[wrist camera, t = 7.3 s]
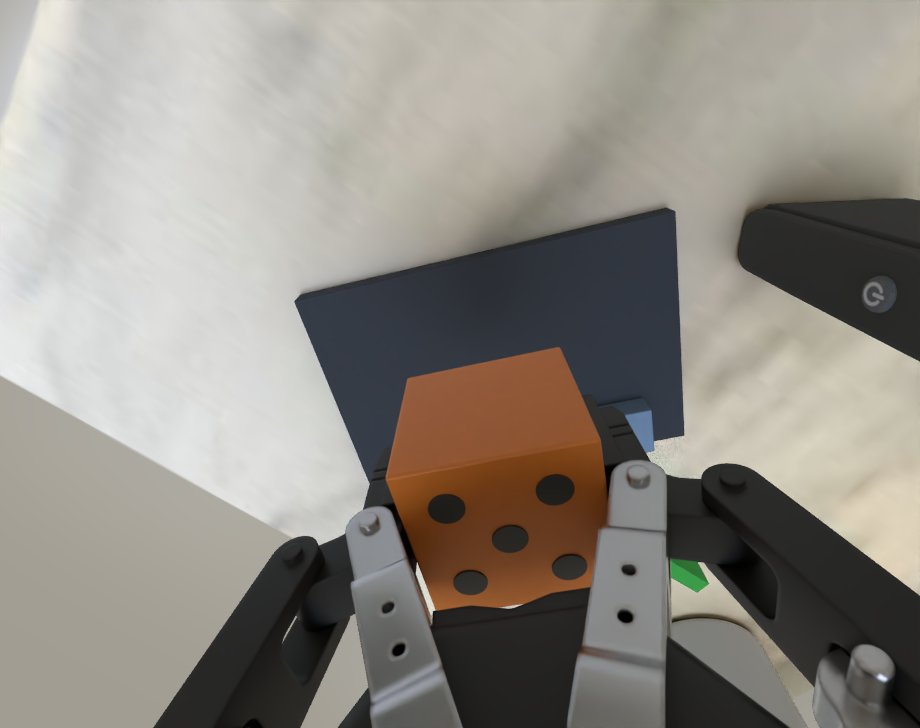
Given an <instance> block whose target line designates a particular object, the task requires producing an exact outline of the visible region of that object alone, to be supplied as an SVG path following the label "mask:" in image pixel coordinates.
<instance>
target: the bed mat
mask: <svg viewBox="0 0 920 728" xmlns="http://www.w3.org/2000/svg"><path fill="white" fill-rule="evenodd" d="M295 304H296V307H297V309H298V312H299V314H300V316H301V319H302V321H303V324H304V326H305V328H306V331H307V333H308V336H309V338H310V341H311V343H312V345H313V348H314V350H315V353H316V355H317V358H318V360H319V362H320V365H321V367H322V370H323V372H324V374H325V377H326V379H327V382H328V384H329V387H330V389H331V391H332V394H333V396H334V399H335V401H336V403H337V406H338V408H339V411H340V413H341V416H342V418H343V420H344V423H345V425H346V428H347V430H348V433H349V435H350V437H351V440H352V442H353V445H354V447H355V449H356V452H357V454H358V457H359V459H360V462H361V464H362V466H363V469H364V471H365V474H366V476H367V478H368V481H369V483H370V482H371V477H372V474H373V473H374V472H373V470H374V466H375V462H376V459H377V458H378V457H379V455H380V454H381V453H382V452H383V450H384V449H387V448H392V447H393V442H394V438H395V433H396V428H397V424H398V419H399V415H400V410H401V406H402V401H403V397H404V392H405V388H406V383H407V379H408V378H411V377H416V376H421V375H426V374H431V373H435V372H440V371H445V370H450V369H455V368H460V367H464V366H469V365H474V364H479V363H484V362H489V361H493V360H498V359H503V358H508V357H513V356H518V355H522V354H527V353H532V352H537V351H542V350H547V349H551V348H556V347H559V348H560V349H561V350H562V353H563V355H564V357H565V359H566V362H567V364H568V366H569V368H570V371H571V373H572V375H573V378H574V380H575V382H576V384H577V387H578V389H579V391H580V393H581V396H584V395H589V394H592V395H593V396H594V398H595V401H596V403H597V405H598V407H599V408H603V407H608V406H613V407H615V408H616V409H618V410H619V411H621V412H622V413H624V415H625V417H626V419H627V420H628V422H629V425H630V426H631V427H632V429H633V431H634V433H635V435H636V436H637V438H638V440H639V442H640V444H641V445H642V447H643V449H644V451H645V452H651V451H654V441H657V440H663V439H668V438H673V437H679V436H684V417H683V392H682V367H681V342H680V317H679V292H678V267H677V242H676V217H675V211H673V210H671V209H668V208H664V209H660V210H656V211H651V212H647V213H643V214H639V215H635V216H630V217H626V218H622V219H618V220H614V221H609V222H605V223H601V224H597V225H592V226H588V227H584V228H580V229H576V230H571V231H567V232H563V233H559V234H555V235H550V236H546V237H542V238H538V239H534V240H529V241H525V242H521V243H517V244H513V245H508V246H504V247H500V248H496V249H492V250H487V251H483V252H479V253H475V254H470V255H466V256H462V257H458V258H454V259H449V260H445V261H441V262H437V263H433V264H428V265H424V266H420V267H416V268H412V269H407V270H403V271H399V272H395V273H391V274H386V275H382V276H378V277H374V278H369V279H365V280H361V281H357V282H353V283H348V284H344V285H340V286H336V287H332V288H327V289H323V290H319V291H315V292H311V293H306V294H302V295H300V296H299V297H298V298H297V299H296V300H295Z"/></svg>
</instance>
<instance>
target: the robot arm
mask: <svg viewBox="0 0 920 728" xmlns="http://www.w3.org/2000/svg"><path fill="white" fill-rule="evenodd" d="M582 398H583V400H584V403H585V405H586V407H587V409H588V412H589V414H590V416H591V418H592V421H593V423H594V425H595V428H596V430H597V432H598V434H599V437H600V439H601V446H602V453H603V461H604V469H605V477H606V485H607V493H608V504H607V511H606V518H605V525H603V524H601V525H600V528H599V533H598V540H597V547H596V553H595V560H594V567H593V574H592V581H591V587H587V588H581V589H574V590H568V591H561V592H555V593H550V594H548V595H545V596H543V597H540V598H538V599H535V600H533V601H530V602H528V603H525V604H523V605H520V606H518V607H515V608H512V609H505V608H494V607H484V606H473V605H470V606H463V607H457V608H450V609H443V610H437V611H433V619H431V616H430V613H429V610H428V607H427V604H426V601H425V598H424V595H423V593H422V590H421V587H420V584H419V581H418V578H417V576H416V565H417V560H416V557H415V555H414V552H413V549H412V547H411V544H410V542H409V539H408V536H407V534H406V531H405V529H404V526H403V523H402V521H401V518H400V516H399V513H398V510H397V508H396V505H395V503H394V500H393V497H392V495H391V492H390V489H389V487H388V484H387V482H386V474H387V469H388V465H389V460H390V456H391V451H392V448H387V449H384V450H383V452H382V453H381V454H380V455H379V457H378V458H377V459H376V462H375V466H374V470H373V472H374V473H373V474H372V477H371V482H370V485H369V489H368V493H367V497H366V501H365V504H364V508H363V510H362V511H360V512H359V513H357V514H356V515H355V516H354V517H353V518H352V519H351V520H350V521H349V523H348V524H347V527H346V531H345V534H344V535H342V536H340V537H338V538H336V539H334V540H331V541H329V542H327V543H324V544H322V545H320V546H319V545H318V543H317V541H316V540H315V539H314V538H313V537H310V536H301V537H297V538H294V539H291V540H289V541H288V542H286V543H284V544H283V545H282V546H281V547H279V548H278V549H277V550H276V551H275V552H274V554H273V555H272V557H271V558H270V559H269V561H268V562H267V564H266V565H265V567H264V568H263V569H262V571H261V572H260V574H259V575H258V577H257V578H256V580H255V581H254V582H253V584H252V585H251V587H250V588H249V590H248V591H247V593H246V594H245V596H244V597H243V598H242V600H241V601H240V603H239V604H238V606H237V607H236V609H235V610H234V611H233V613H232V615H231V616H230V617H229V619H228V620H227V622H226V623H225V625H224V626H223V628H222V629H221V630H220V632H219V633H218V635H217V636H216V638H215V639H214V641H213V642H212V643H211V645H210V646H209V648H208V649H207V651H206V652H205V654H204V655H203V656H202V658H201V659H200V661H199V662H198V664H197V665H196V667H195V668H194V670H193V671H192V672H191V674H190V675H189V677H188V678H187V680H186V681H185V683H184V684H183V686H182V687H181V688H180V690H179V692H178V693H177V694H176V696H175V697H174V699H173V700H172V701H171V703H170V704H169V706H168V707H167V709H166V710H165V712H164V713H163V715H162V716H161V717H160V719H159V720H158V722H157V723H156V725H155V726H154V728H300V727H301V725H302V722H303V720H304V718H305V716H306V714H307V712H308V709H309V707H310V705H311V703H312V701H313V699H314V696H315V694H316V692H317V690H318V688H319V686H320V683H321V681H322V679H323V677H324V675H325V673H326V670H327V668H328V666H329V663H330V662H331V659H332V657H333V655H334V653H335V651H336V648H337V646H338V644H339V642H340V639H341V638H342V635H343V633H344V631H345V629H346V627H347V624H348V622H349V620H350V616H351V615H353V614H356V619H357V625H358V630H359V636H360V642H361V647H362V653H363V658H364V664H365V670H366V675H367V681H368V686H369V687H368V689H367V690H366V691H365V693H364V694H363V695H362V696H361V698H360V699H359V700H358V702H357V703H356V704H355V706H354V707H353V708H352V710H351V711H350V712H349V714H348V715H347V716H346V717H345V719H344V720H343V721H342V723H341V724H340V725H339V727H338V728H790V727H789V726H787V725H786V724H785V723H783V722H782V721H781V720H779V719H778V718H777V717H775V716H774V715H773V714H771V713H770V712H769V711H768V710H766V709H765V708H764V707H762V706H761V705H760V704H758V703H757V702H756V701H754V700H753V699H752V698H750V697H749V696H748V695H746V694H745V693H744V692H742V691H741V690H740V689H738V688H737V687H736V686H734V685H733V684H732V683H730V682H729V681H728V680H726V679H725V678H724V677H722V676H721V675H720V674H719V673H717V672H716V671H715V670H713V669H712V668H711V667H709V666H708V665H707V664H705V663H704V662H703V661H701V660H700V659H699V658H697V657H696V656H695V655H693V654H692V653H691V652H689V651H688V650H687V649H685V648H684V647H683V646H681V645H680V644H679V643H677V642H676V641H675V640H673V639H672V612H671V559H678V560H687V561H695V562H704V563H705V565H706V566H707V567H708V569H709V570H710V571H711V572H712V573H713V574H714V575H715V577H716V578H717V579H718V580H719V581H720V582H721V583H722V584H723V586H724V587H725V588H726V589H727V590H728V591H729V592H730V593H731V594H732V596H733V597H734V598H735V599H736V600H737V601H738V602H739V603H740V605H741V606H742V607H743V608H744V609H745V610H746V611H747V612H748V614H749V615H750V616H751V617H752V618H753V619H754V620H755V621H756V622H757V624H758V625H759V626H760V627H761V628H762V629H763V630H764V631H765V633H766V634H767V635H768V636H769V637H770V638H771V639H772V640H773V641H774V643H775V644H776V645H777V646H778V647H779V648H780V649H781V650H782V652H783V653H784V654H785V655H786V656H787V657H788V658H789V659H790V661H791V662H792V663H793V664H794V665H795V666H796V667H797V668H798V669H799V671H800V672H801V673H802V674H803V675H804V676H805V677H806V678H807V680H808V681H809V682H810V683H811V684H812V685H813V686H814V687H815V688H814V695H813V704H812V707H813V713H814V716H815V719H816V721H817V723H818V725H819V727H820V728H920V596H919V595H918V594H917V593H916V592H914V591H913V590H912V589H910V588H909V587H908V586H906V585H905V584H904V583H902V582H901V581H900V580H898V579H897V578H896V577H894V576H893V575H892V574H890V573H889V572H888V571H886V570H885V569H884V568H882V567H881V566H880V565H879V564H877V563H876V562H875V561H873V560H872V559H871V558H869V557H868V556H867V555H865V554H864V553H863V552H861V551H860V550H859V549H857V548H856V547H855V546H853V545H852V544H851V543H849V542H848V541H847V540H845V539H844V538H843V537H842V536H840V535H839V534H838V533H836V532H835V531H834V530H832V529H831V528H830V527H828V526H827V525H826V524H824V523H823V522H822V521H820V520H819V519H818V518H816V517H815V516H814V515H812V514H811V513H810V512H808V511H807V510H806V509H805V508H803V507H802V506H801V505H799V504H798V503H797V502H795V501H794V500H793V499H791V498H790V497H789V496H787V495H786V494H785V493H783V492H782V491H781V490H779V489H778V488H777V487H775V486H774V485H773V484H771V483H770V482H769V481H768V480H766V479H765V478H764V477H762V476H761V475H760V474H758V473H757V472H755V471H754V470H752V469H750V468H748V467H745V466H742V465H738V464H728V463H727V464H717V465H714V466H711V467H709V468H708V469H706V470H705V471H704V472H703V474H702V477H701V479H689V478H678V477H673V476H670V475H667V474H665V472H664V470H663V469H662V468H661V467H660V466H658V465H657V464H654V463H652V462H651V461H650V460H649V458H648V456H647V454H646V452H645V451H644V449H643V447H642V445H641V444H640V442H639V440H638V438H637V436H636V435H635V433H634V431H633V429H632V427H631V426H630V425H629V422H628V420H627V419H626V417H625V415H624V413H622V412H621V411H619V410H618V409H616V408H615V407H613V406H608V407H603V408H599V407H598V405H597V403H596V401H595V398H594V396H593V395H592V394H589V395H584V396H582ZM295 616H297V618H296V620H295V622H294V624H293V625H292V627H291V629H290V631H289V632H288V634H287V636H286V638H285V640H284V641H283V638H284V636H285V634H286V632H287V630H288V628H289V626H290V625H291V623H292V621H293V619H294V617H295ZM282 641H283V643H282Z"/></svg>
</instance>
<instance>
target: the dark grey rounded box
mask: <svg viewBox="0 0 920 728" xmlns="http://www.w3.org/2000/svg"><path fill="white" fill-rule="evenodd" d="M738 256H739V261H740V264H741V265H742V267H743V268H744V269H745V270H747V271H749V272H750V273H752V274H754V275H756V276H758V277H760V278H761V279H763V280H765V281H767V282H769V283H771V284H772V285H774V286H776V287H778V288H780V289H782V290H783V291H785V292H787V293H789V294H791V295H793V296H795V297H797V298H798V299H800V300H802V301H804V302H806V303H808V304H810V305H812V306H814V307H816V308H818V309H820V310H822V311H823V312H825V313H827V314H829V315H831V316H833V317H835V318H837V319H839V320H841V321H843V322H845V323H847V324H848V325H850V326H852V327H854V328H856V329H858V330H860V331H862V332H864V333H866V334H868V335H870V336H872V337H874V338H875V339H877V340H879V341H881V342H883V343H885V344H887V345H889V346H891V347H893V348H895V349H897V350H899V351H901V352H902V353H904V354H906V355H908V356H910V357H912V358H914V359H916V360H918V361H920V201H919V200H913V199H907V198H904V199H882V200H859V201H837V202H815V203H793V204H771V205H768V206H766V207H765V208H763V209H758V210H756V211H754V212H752V213H751V214H750V215H749V216H748V217H747V219H746V220H745V222H744V227H743V231H742V236H741V241H740V245H739V250H738Z"/></svg>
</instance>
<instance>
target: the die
mask: <svg viewBox="0 0 920 728" xmlns="http://www.w3.org/2000/svg"><path fill="white" fill-rule="evenodd" d="M386 482H387V484H388V487H389V489H390V492H391V495H392V497H393V500H394V503H395V505H396V508H397V510H398V513H399V516H400V518H401V521H402V523H403V526H404V529H405V531H406V534H407V536H408V539H409V542H410V544H411V547H412V549H413V552H414V555H415V557H416V560H417V562H418V565H419V568H420V570H421V573H422V575H423V578H424V581H425V583H426V586H427V589H428V591H429V594H430V596H431V599H432V602H433V604H434V607H435V609H436V611H437V610H443V609H450V608H457V607H463V606H470V605H473V606H484V607H494V608H499V607H506V606H512V605H519V604H525V603H528V602H530V601H533V600H535V599H538V598H540V597H543V596H545V595H548V594H550V593H555V592H561V591H568V590H574V589H581V588H587V587H591V581H592V574H593V567H594V560H595V553H596V547H597V540H598V533H599V528H600V525H601V524H603V525H605V518H606V511H607V504H608V493H607V485H606V477H605V469H604V461H603V453H602V446H601V439H600V437H599V434H598V432H597V430H596V428H595V425H594V423H593V421H592V418H591V416H590V414H589V412H588V409H587V407H586V405H585V403H584V400H583V398H582V396H581V393H580V391H579V389H578V387H577V384H576V382H575V380H574V378H573V375H572V373H571V371H570V368H569V366H568V364H567V362H566V359H565V357H564V355H563V353H562V350H561V349H560V348H559V347H556V348H551V349H547V350H542V351H537V352H532V353H527V354H522V355H518V356H513V357H508V358H503V359H498V360H493V361H489V362H484V363H479V364H474V365H469V366H464V367H460V368H455V369H450V370H445V371H440V372H435V373H431V374H426V375H421V376H416V377H411V378H408V379H407V383H406V388H405V392H404V397H403V401H402V406H401V410H400V415H399V419H398V424H397V428H396V433H395V438H394V442H393V447H392V451H391V456H390V460H389V465H388V469H387V474H386Z"/></svg>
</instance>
